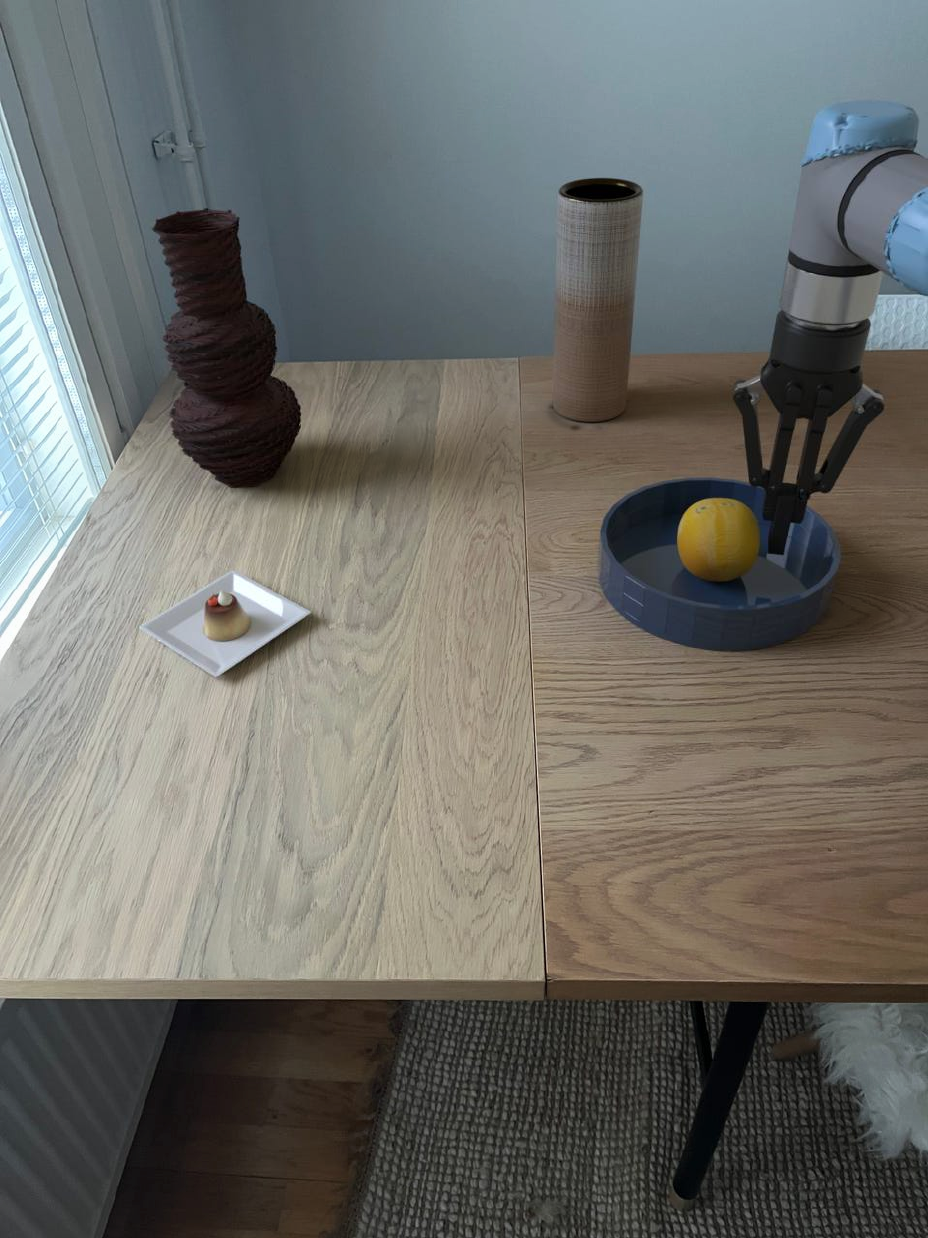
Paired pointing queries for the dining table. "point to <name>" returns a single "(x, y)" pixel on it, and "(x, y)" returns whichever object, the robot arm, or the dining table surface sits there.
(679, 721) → the dining table surface
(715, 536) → the fruit
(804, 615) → the bowl
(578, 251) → the tall ceramic vase
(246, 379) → the vase
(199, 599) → the dessert
